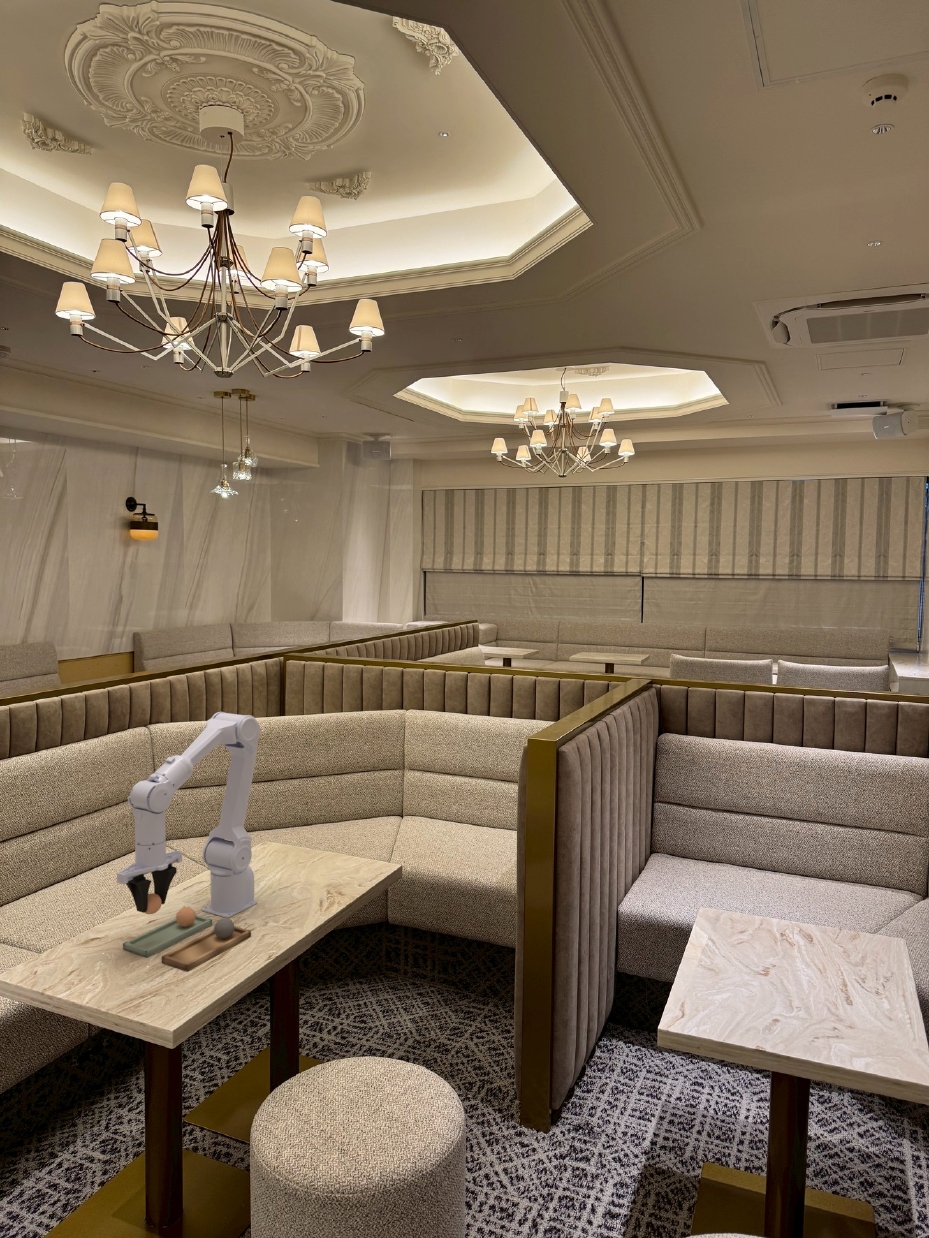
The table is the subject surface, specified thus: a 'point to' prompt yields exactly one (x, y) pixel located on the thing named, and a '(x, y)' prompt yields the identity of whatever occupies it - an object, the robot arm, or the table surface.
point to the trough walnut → (203, 949)
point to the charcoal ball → (224, 928)
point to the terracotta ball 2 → (185, 916)
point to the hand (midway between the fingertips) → (151, 907)
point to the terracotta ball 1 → (153, 903)
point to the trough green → (164, 936)
